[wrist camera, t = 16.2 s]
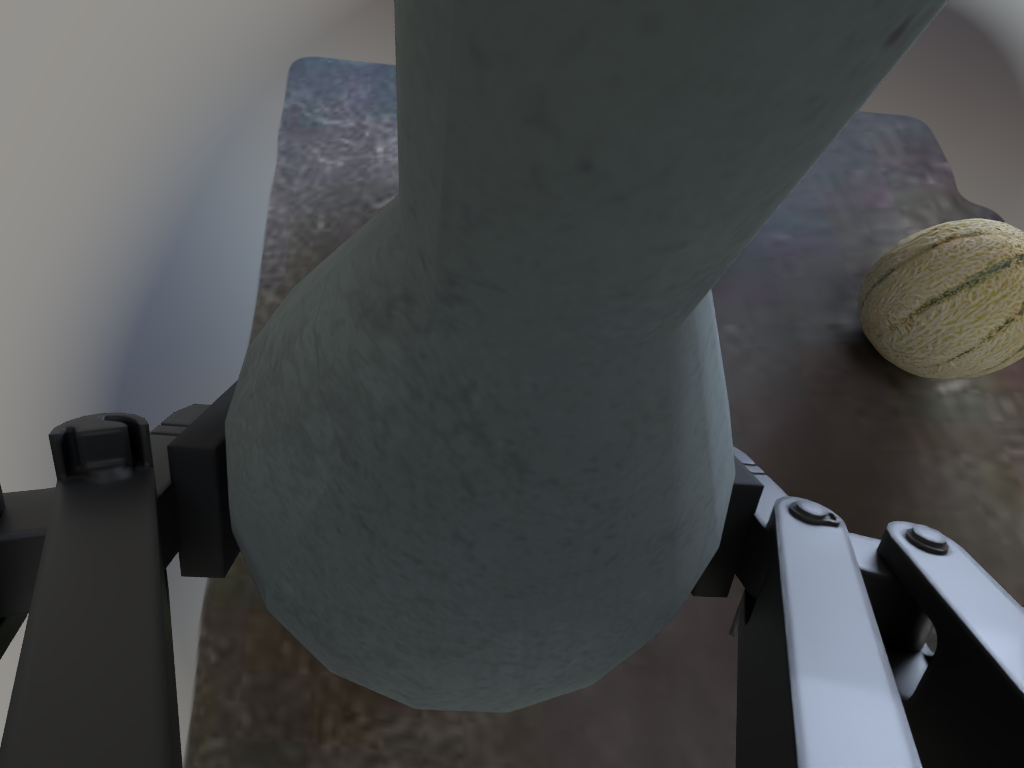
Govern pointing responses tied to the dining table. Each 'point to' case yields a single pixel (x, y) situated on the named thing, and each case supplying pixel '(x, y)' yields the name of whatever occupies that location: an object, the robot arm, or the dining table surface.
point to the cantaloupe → (948, 300)
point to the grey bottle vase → (533, 337)
